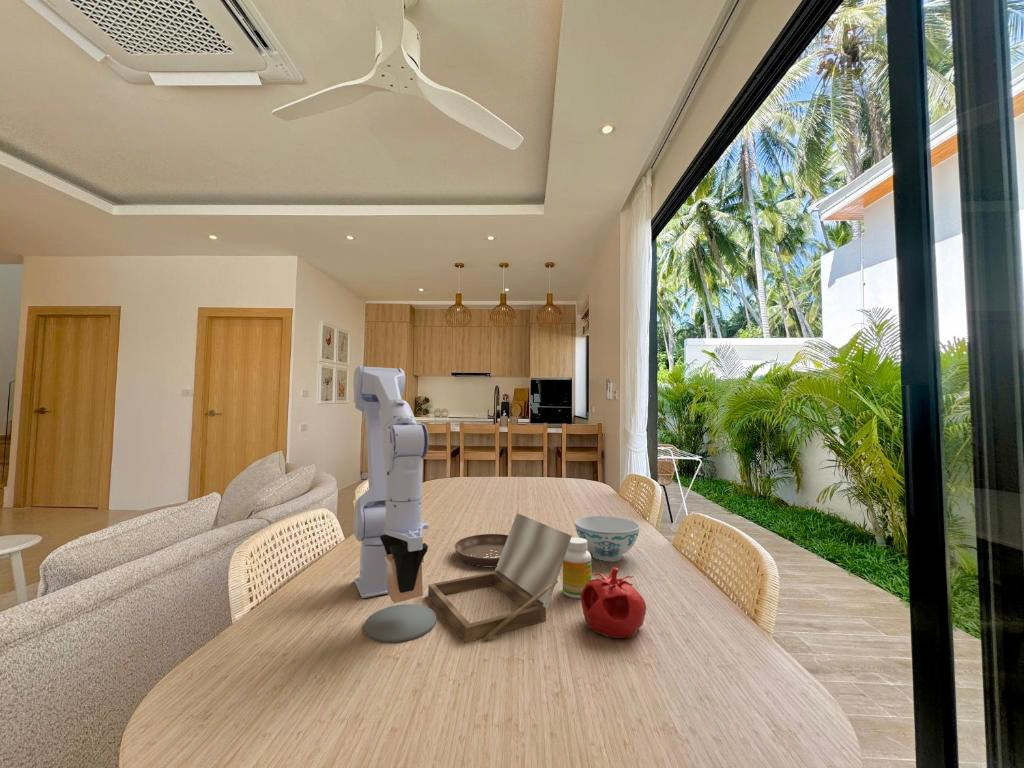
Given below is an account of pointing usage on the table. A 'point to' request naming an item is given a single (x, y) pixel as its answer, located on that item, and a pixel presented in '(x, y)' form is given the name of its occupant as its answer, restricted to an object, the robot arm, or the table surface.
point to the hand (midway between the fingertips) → (402, 584)
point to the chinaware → (607, 535)
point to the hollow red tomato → (613, 606)
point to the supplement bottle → (576, 567)
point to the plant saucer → (481, 548)
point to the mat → (400, 623)
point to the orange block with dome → (393, 583)
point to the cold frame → (512, 579)
